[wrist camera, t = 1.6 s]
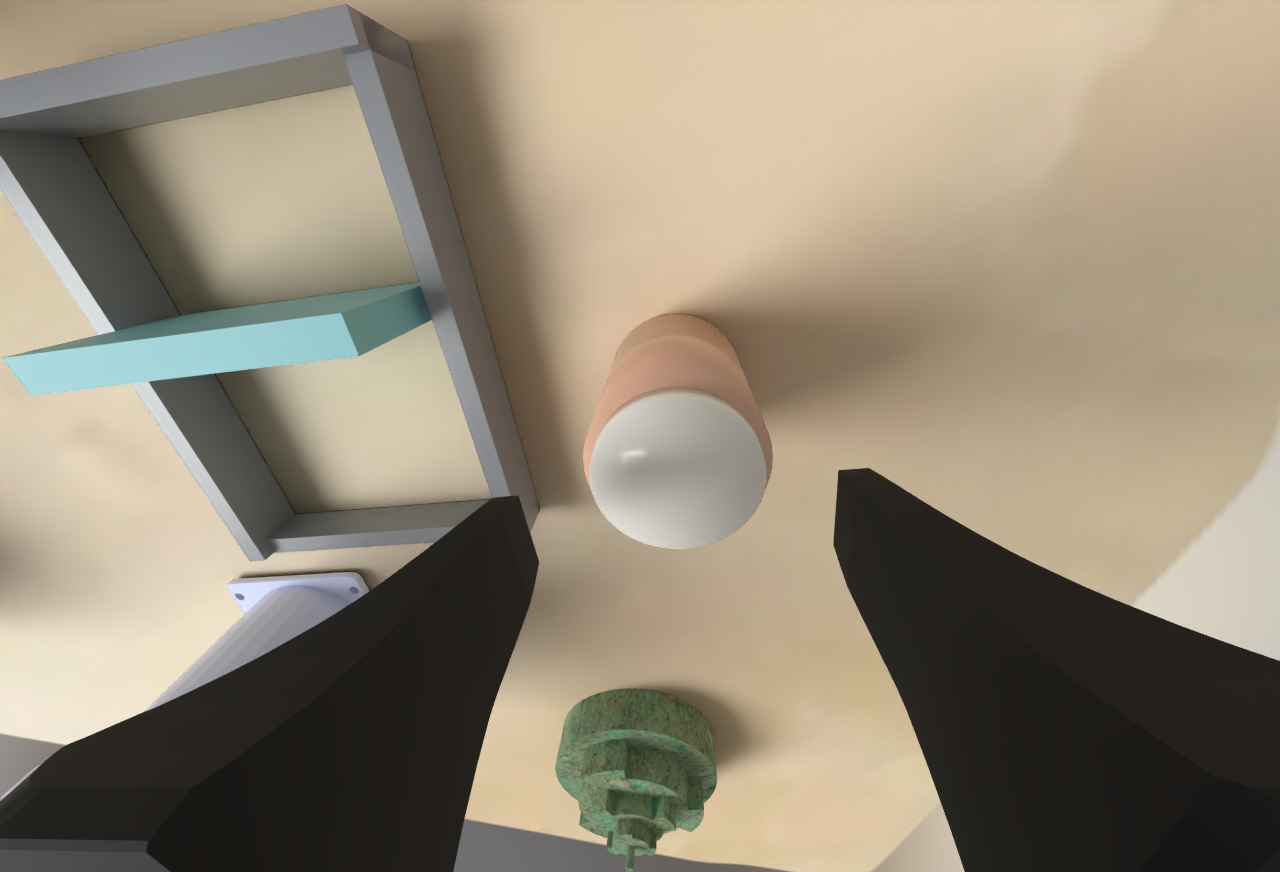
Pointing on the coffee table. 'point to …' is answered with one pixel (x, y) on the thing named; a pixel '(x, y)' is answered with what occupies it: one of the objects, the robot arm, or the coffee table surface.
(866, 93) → the coffee table surface
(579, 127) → the coffee table surface
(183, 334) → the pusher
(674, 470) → the jar
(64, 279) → the grey tray
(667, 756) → the decorative artifact
